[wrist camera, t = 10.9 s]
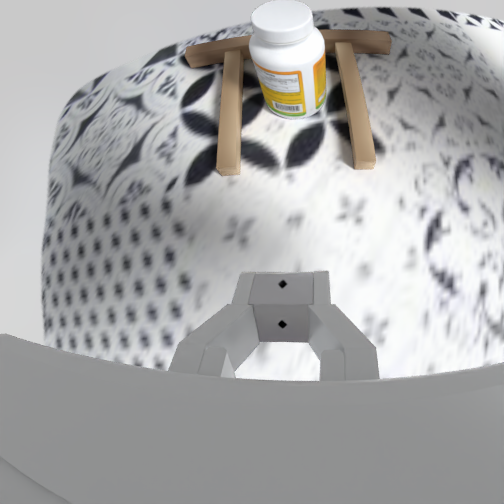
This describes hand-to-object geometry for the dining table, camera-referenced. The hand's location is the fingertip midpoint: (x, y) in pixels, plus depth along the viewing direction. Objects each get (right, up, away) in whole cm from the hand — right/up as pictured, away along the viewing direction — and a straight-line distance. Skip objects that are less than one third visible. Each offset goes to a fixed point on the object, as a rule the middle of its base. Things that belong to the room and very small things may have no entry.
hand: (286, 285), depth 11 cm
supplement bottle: (+3, +15, +14) cm, 21 cm away
